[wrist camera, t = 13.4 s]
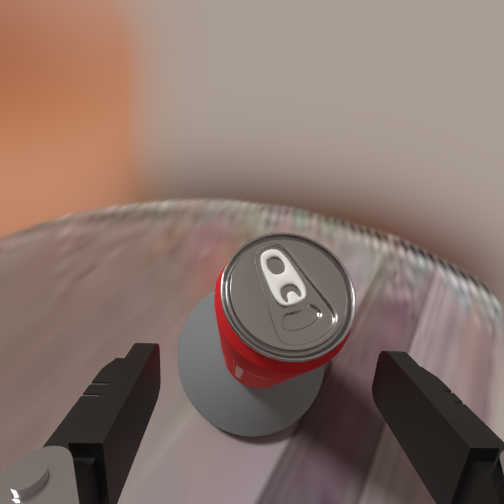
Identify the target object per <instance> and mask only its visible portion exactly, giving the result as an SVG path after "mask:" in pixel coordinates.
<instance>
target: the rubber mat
mask: <svg viewBox="0 0 504 504" xmlns="http://www.w3.org/2000/svg"><path fill="white" fill-rule="evenodd" d="M214 299H215V290H214V291H212V292H211V293H209V294H208V295H207V296H206V297H204V298H203V299H202V300H201V301H200V302H199V303H198V304H197V306H196V307H195V308H194V309H193V311H192V312H191V314H190V315H189V317H188V319H187V321H186V323H185V325H184V327H183V331H182V334H181V337H180V342H179V348H178V367H179V373H180V378H181V381H182V384H183V387H184V390H185V392H186V394H187V396H188V398H189V400H190V401H191V403H192V404H193V406H194V407H195V408H196V409H197V411H198V412H199V413H200V414H201V415H202V416H203V417H204V418H205V419H207V420H208V421H209V422H210V423H211V424H213V425H215V426H216V427H218V428H220V429H222V430H224V431H227V432H229V433H232V434H236V435H240V436H251V437H255V436H265V435H269V434H273V433H276V432H278V431H281V430H283V429H285V428H287V427H288V426H290V425H291V424H293V423H295V422H296V421H297V420H298V419H299V418H300V417H301V416H303V415H304V413H305V412H306V411H307V410H308V409H309V407H310V406H311V405H312V403H313V401H314V400H315V398H316V396H317V394H318V392H319V390H320V387H321V384H322V380H323V376H324V370H325V364H324V365H322V366H320V367H318V368H316V369H314V370H311V371H309V372H306V373H304V374H301V375H299V376H296V377H294V378H291V379H289V380H286V381H284V382H281V383H279V384H276V385H274V386H271V387H267V388H252V387H249V386H246V385H244V384H242V383H240V382H239V381H238V380H236V379H235V378H234V377H233V376H232V374H231V373H230V372H229V370H228V368H227V366H226V364H225V361H224V358H223V353H222V347H221V341H220V336H219V330H218V324H217V318H216V312H215V303H214Z"/></svg>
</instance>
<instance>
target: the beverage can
mask: <svg viewBox="0 0 504 504" xmlns="http://www.w3.org/2000/svg"><path fill="white" fill-rule="evenodd" d="M214 303H215V312H216V318H217V324H218V330H219V336H220V341H221V347H222V353H223V358H224V361H225V364H226V366H227V368H228V370H229V372H230V373H231V374H232V376H233V377H234V378H235V379H236V380H238V381H239V382H240V383H242V384H244V385H246V386H249V387H252V388H267V387H271V386H274V385H276V384H279V383H281V382H284V381H286V380H289V379H291V378H294V377H296V376H299V375H301V374H304V373H306V372H309V371H311V370H314V369H316V368H318V367H320V366H322V365H324V364H325V363H327V362H328V361H330V360H331V359H332V358H333V357H334V356H335V355H336V354H337V353H338V352H339V351H340V350H341V348H342V347H343V345H344V344H345V342H346V340H347V338H348V336H349V333H350V330H351V327H352V324H353V321H354V317H355V312H356V295H355V290H354V286H353V283H352V280H351V278H350V275H349V273H348V272H347V270H346V268H345V267H344V265H343V264H342V262H341V261H340V260H339V259H338V258H337V257H336V256H335V255H334V254H333V253H332V252H331V251H330V250H329V249H327V248H326V247H325V246H323V245H322V244H320V243H318V242H316V241H315V240H312V239H310V238H308V237H305V236H301V235H298V234H292V233H271V234H266V235H262V236H259V237H257V238H254V239H252V240H250V241H249V242H247V243H245V244H244V245H243V246H241V247H240V248H239V249H238V250H237V251H236V252H235V253H234V254H233V255H232V257H231V258H230V260H229V261H228V263H227V264H226V265H225V267H224V268H223V270H222V272H221V274H220V275H219V277H218V280H217V282H216V288H215V299H214Z"/></svg>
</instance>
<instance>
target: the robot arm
mask: <svg viewBox="0 0 504 504" xmlns="http://www.w3.org/2000/svg"><path fill="white" fill-rule="evenodd" d="M160 381H161V380H160V349H159V345H158V344H153V343H135V344H134V345H133V346H132V348H131V349H130V351H129V352H128V354H127V355H126V357H125V358H116V359H114V360H113V361H112V362H110V363H109V364H108V365H106V366H105V367H104V368H102V369H101V371H100V372H99V373H98V375H97V376H96V377H95V379H94V380H93V381H92V384H91V385H89V386H88V388H87V389H86V390H85V392H84V393H83V396H81V397H80V398H79V400H78V401H77V402H76V404H75V405H74V406H73V408H72V409H71V410H70V412H69V413H68V414H67V416H66V417H65V418H64V420H63V421H62V422H61V424H60V425H59V426H58V428H57V429H56V430H55V432H54V433H53V434H52V436H51V437H50V438H49V440H48V441H47V442H46V444H45V445H44V446H43V447H42V448H39V449H36V450H34V451H32V452H29V453H28V454H26V455H24V456H22V457H20V458H19V459H17V460H16V461H14V462H13V463H12V464H10V465H9V466H8V467H7V468H5V469H4V470H3V471H2V472H1V473H0V504H117V502H118V500H119V497H120V495H121V492H122V489H123V487H124V484H125V482H126V479H127V477H128V474H129V471H130V469H131V466H132V464H133V461H134V459H135V456H136V453H137V451H138V448H139V446H140V443H141V440H142V438H143V435H144V433H145V430H146V428H147V425H148V422H149V420H150V417H151V415H152V412H153V410H154V407H155V404H156V402H157V399H158V395H159V390H160ZM372 394H373V398H374V402H375V404H376V406H377V408H378V409H379V411H380V412H381V414H382V416H383V417H384V419H385V421H386V422H387V424H388V426H389V427H390V429H391V430H392V432H393V434H394V435H395V437H396V439H397V440H398V442H399V444H400V445H401V447H402V448H403V450H404V452H405V453H406V455H407V457H408V458H409V460H410V462H411V463H412V465H413V466H414V468H415V470H416V471H417V473H418V475H419V476H420V478H421V480H422V481H423V483H424V484H425V486H426V488H427V489H428V491H429V493H430V494H431V496H432V498H433V499H434V501H435V502H436V504H504V442H503V441H502V440H501V439H500V438H499V437H498V436H497V435H496V434H495V433H494V432H493V431H492V430H491V429H490V428H489V427H488V426H487V425H486V424H485V423H484V422H483V421H481V420H480V419H479V418H478V417H477V416H476V415H475V414H474V413H473V412H472V411H471V410H470V409H469V408H468V407H467V406H466V405H465V404H463V403H462V401H461V400H460V399H459V398H458V397H457V396H456V395H455V394H454V393H451V390H450V389H449V388H448V387H447V386H446V385H445V384H444V383H443V382H442V381H441V380H440V379H439V378H438V377H436V376H435V375H433V374H432V373H430V372H429V371H427V370H425V369H424V368H422V367H420V366H419V365H418V364H417V363H416V362H415V361H414V360H413V359H412V358H411V357H410V356H409V355H408V354H407V353H406V352H399V351H382V352H381V353H380V354H379V357H378V362H377V366H376V371H375V376H374V380H373V385H372Z"/></svg>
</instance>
